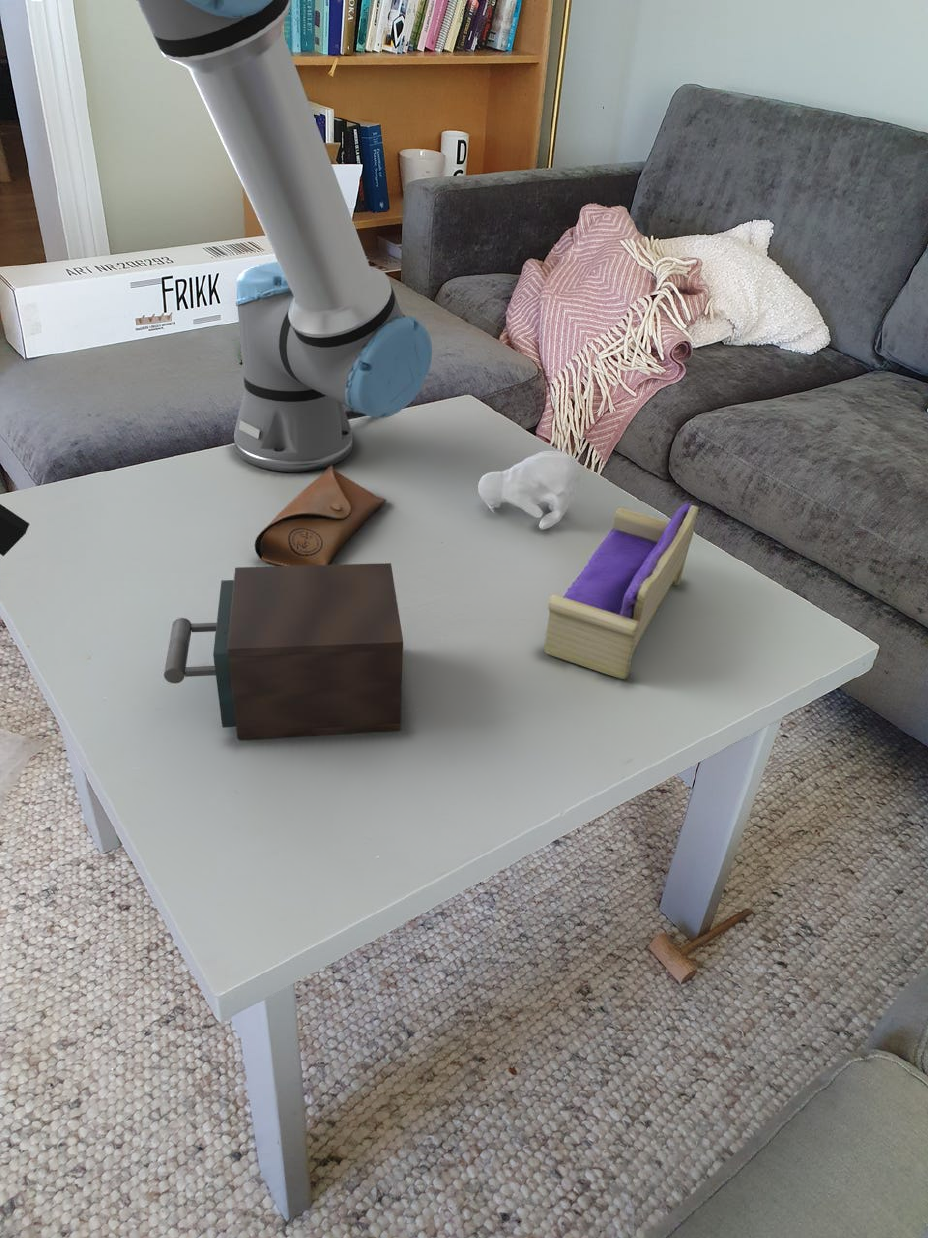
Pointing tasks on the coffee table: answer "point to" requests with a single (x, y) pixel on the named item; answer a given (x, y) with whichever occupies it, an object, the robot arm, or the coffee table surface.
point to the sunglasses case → (317, 522)
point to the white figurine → (534, 485)
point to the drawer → (180, 647)
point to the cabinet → (315, 650)
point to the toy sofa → (619, 591)
